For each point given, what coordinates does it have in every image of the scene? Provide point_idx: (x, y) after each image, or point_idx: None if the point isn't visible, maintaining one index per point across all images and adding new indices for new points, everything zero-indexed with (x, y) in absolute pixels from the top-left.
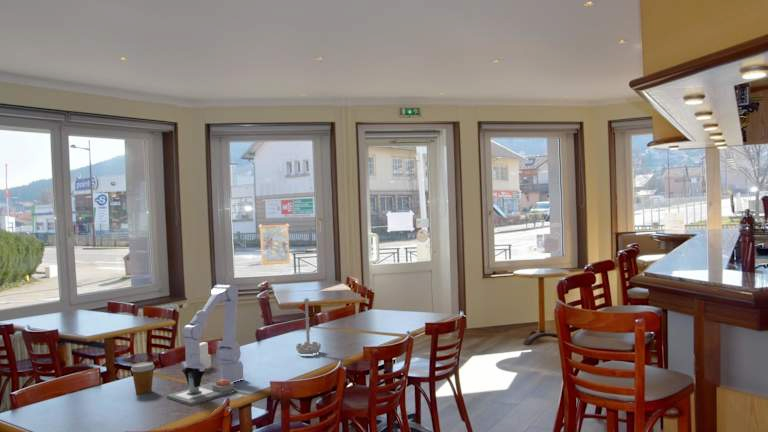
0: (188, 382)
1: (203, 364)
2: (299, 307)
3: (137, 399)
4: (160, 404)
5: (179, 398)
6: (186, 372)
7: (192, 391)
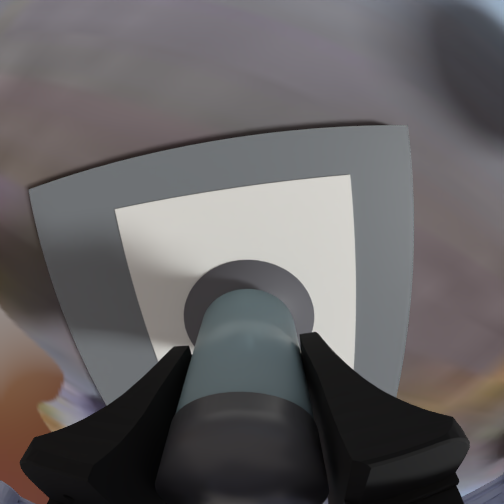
0: (306, 350)
1: None
2: None
3: (490, 15)
4: (258, 15)
5: (198, 156)
6: (341, 446)
7: (211, 306)
